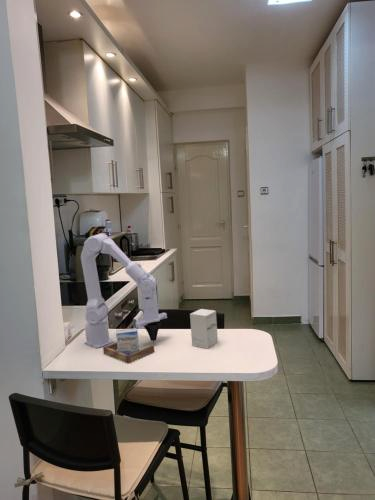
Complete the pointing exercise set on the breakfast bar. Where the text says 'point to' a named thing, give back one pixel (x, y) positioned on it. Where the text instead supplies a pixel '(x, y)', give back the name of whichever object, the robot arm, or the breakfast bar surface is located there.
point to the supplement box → (203, 328)
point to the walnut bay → (112, 352)
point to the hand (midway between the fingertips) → (153, 340)
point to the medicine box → (127, 340)
